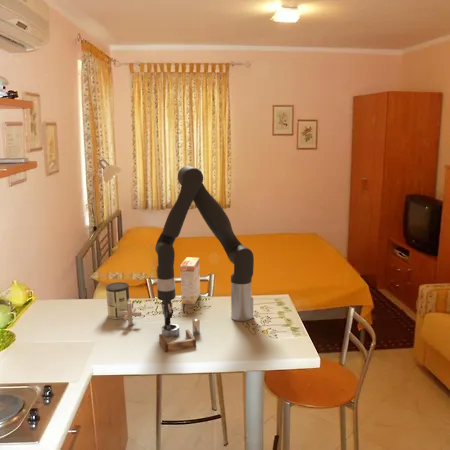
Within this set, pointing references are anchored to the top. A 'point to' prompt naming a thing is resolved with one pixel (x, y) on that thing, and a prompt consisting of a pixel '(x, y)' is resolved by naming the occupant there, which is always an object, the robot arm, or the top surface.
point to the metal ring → (170, 330)
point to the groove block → (178, 343)
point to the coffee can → (117, 299)
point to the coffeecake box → (190, 280)
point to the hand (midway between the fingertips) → (167, 325)
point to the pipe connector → (129, 313)
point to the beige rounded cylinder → (196, 326)
